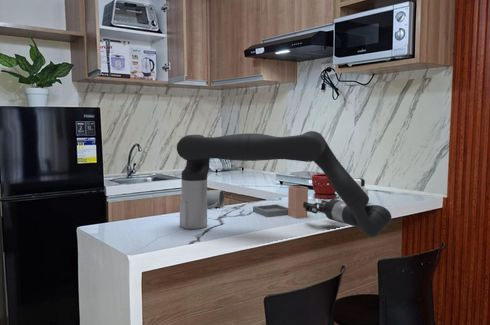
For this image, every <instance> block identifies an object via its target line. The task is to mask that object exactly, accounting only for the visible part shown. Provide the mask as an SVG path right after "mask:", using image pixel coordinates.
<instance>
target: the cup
mask: <svg viewBox="0 0 490 325" xmlns="http://www.w3.org/2000/svg"><path fill="white" fill-rule="evenodd" d="M287 196H288V197H287V199H288V202H287V203H288V204H287V205H288V206H287V208H288V215H287V216H289V217H290V218H291V217H292V218H294V219H300V218H301V219H303V218H308V211H305V208H304V207H303V202H308V203H309V187H307V186H302V185H295V186H294V185H293V186H288V195H287Z"/></svg>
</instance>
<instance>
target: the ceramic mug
mask: <svg viewBox="0 0 490 325" xmlns="http://www.w3.org/2000/svg"><path fill="white" fill-rule="evenodd" d="M225 199H226V198H225V192H224V190H222V189H211V190H207V210H212V209H215V208H222V207H223V206H224V204H225Z"/></svg>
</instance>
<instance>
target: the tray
mask: <svg viewBox="0 0 490 325" xmlns="http://www.w3.org/2000/svg"><path fill="white" fill-rule="evenodd" d="M252 212H253V213H255V212H256V214H258V215H261V216H263V217H266V218H271V217H280V216H288V206H284V205H280V204H277V203H275V204H267V205H264V204H263V205H254V206H252Z"/></svg>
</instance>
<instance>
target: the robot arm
mask: <svg viewBox="0 0 490 325" xmlns="http://www.w3.org/2000/svg"><path fill="white" fill-rule="evenodd" d="M176 152H177V154H178V156H179V157H180V158H181V159H183V160H185V161H186V163H185V167H184V169H183V170H182V171H181V175H180V176H181V178H180V179H181V199H179V226H180V227H181V228H183V229H184V230H185V229H186V230H187V229H188V230H189V229H190V230H191V229H192V230H194V229H195V230H197V229H204V228H206V227H208V209H207V191H208V174H209V171H210V162H211V161H210V160H211V159H216V160H217V159H218V160H227V161H240V162H241V161H242V162H244V161H245V162H248V161H249V162H250V161H251V162H254V161H255V162H256V161H257V162H258V161H259V162H260V161H272V160H288V161H297V162H298V161H299V162H305V163H306V162H307V163H308V162H311V163H312V162H313V163H315V164H316V165H317V166H318V167H319V169H320V170H321V171H322V172H323V174H325V175H326V176H327V178H328V179H329V181H330V183H331V185H332V186H333V188H334V190H335V191H336V192H335V193H336V194H337V195H338V197H339V198H340V199H341V200H340V199H336V198H332V199H329V201H327V200H325V199H321V202H314V203H312V202H309V201H308V202H303V207H304V208H305V211H307V213H308V212H309V213H312V214H315V215H316V214H318V213H320V214H323V215H325V217H326V218H327V219H328V220H331V221H334V222H337V223H340V224H345V225H348V226H352V227H355V228H357V227H358V228H359V230H360V231H361V233H363V235H364V236H366V237H369V238H376V237H377V236H379V234H381V233H382V231H384V230H385V228H387V226H389V224H391V222H392V219H393V218H392V213H391V212H390V210H389V209H387V208H386V207H384V206H382V205H379V204H378V205H377V204H367V203H369V202H370V197H369V194H368V195H367V194H366V193H365V192H364V191H363V190H362V188H361V187H360V186H359V185H358V184H357V183H356V181H355V180H354V179H355V178H353V177H352V176H351V174H349V172H348V171H347V170H346V169H345V167H344V166H343V164H342V163H341V162H340V161H339V159H338V158H337V157H336V155H335V154H334V153H333V151H332V149H331V148H330V146H329V144H328V142H327V140H326V139H325V137H324V136H323V135H322V134H321V133H320V132H318V131H314V130H309V131H307V132H304V133H301V134H296V135H289V136H273V135H269V134H263V133H235V134H228V135H222V136H221V135H220V136H214V137H213V136H211V137H210V136H209V137H207V136H204V135H202V134H187V135H185V136H183V137H181V139H179V140H178V142H177V144H176Z"/></svg>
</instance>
